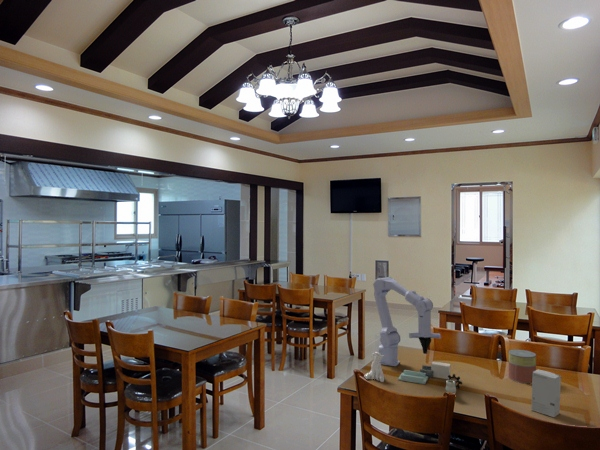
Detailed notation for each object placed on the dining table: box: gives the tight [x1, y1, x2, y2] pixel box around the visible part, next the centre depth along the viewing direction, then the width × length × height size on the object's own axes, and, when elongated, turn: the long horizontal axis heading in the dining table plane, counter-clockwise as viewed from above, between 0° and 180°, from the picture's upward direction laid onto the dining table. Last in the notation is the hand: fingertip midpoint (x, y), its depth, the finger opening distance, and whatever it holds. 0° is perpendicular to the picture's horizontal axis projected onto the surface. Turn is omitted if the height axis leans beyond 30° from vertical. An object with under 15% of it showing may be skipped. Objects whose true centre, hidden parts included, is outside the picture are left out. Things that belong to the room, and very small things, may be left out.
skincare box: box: [530, 368, 562, 418], centre depth 156 cm, size 8×6×15 cm
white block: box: [430, 361, 451, 380], centre depth 193 cm, size 8×4×6 cm, turn 63°
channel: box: [419, 364, 434, 379], centre depth 196 cm, size 6×7×3 cm
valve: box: [445, 373, 463, 394], centre depth 173 cm, size 7×7×12 cm
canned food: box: [508, 349, 537, 385], centre depth 189 cm, size 11×11×12 cm
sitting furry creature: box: [363, 351, 385, 383], centre depth 192 cm, size 10×9×12 cm
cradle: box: [397, 369, 429, 385], centre depth 190 cm, size 12×8×2 cm, turn 63°
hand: (424, 353), depth 196 cm, fingers closed
